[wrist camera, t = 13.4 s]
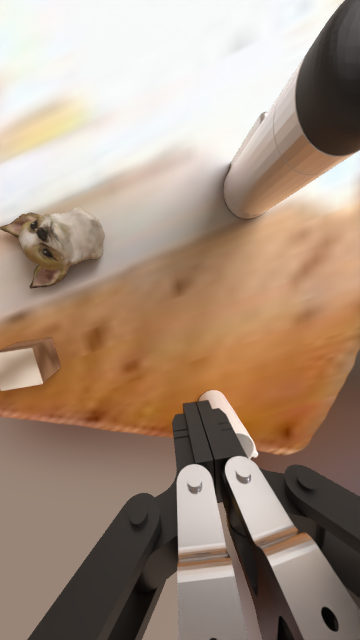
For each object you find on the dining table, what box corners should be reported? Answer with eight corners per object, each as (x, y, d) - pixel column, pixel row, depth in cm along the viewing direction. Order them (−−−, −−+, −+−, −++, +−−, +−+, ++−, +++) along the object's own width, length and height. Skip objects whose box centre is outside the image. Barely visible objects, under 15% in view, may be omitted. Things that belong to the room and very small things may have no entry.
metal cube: (30, 348, 28) (52, 337, 34) (-13, 355, 27) (17, 342, 33) (42, 384, 29) (61, 367, 35) (1, 391, 29) (27, 372, 34)
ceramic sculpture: (109, 259, 24) (0, 294, 24) (124, 264, 33) (43, 291, 33) (74, 169, 22) (-46, 208, 22) (100, 200, 30) (13, 228, 30)
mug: (190, 408, 40) (204, 460, 28) (207, 383, 39) (228, 425, 28) (227, 426, 42) (254, 480, 31) (243, 402, 42) (277, 449, 30)
